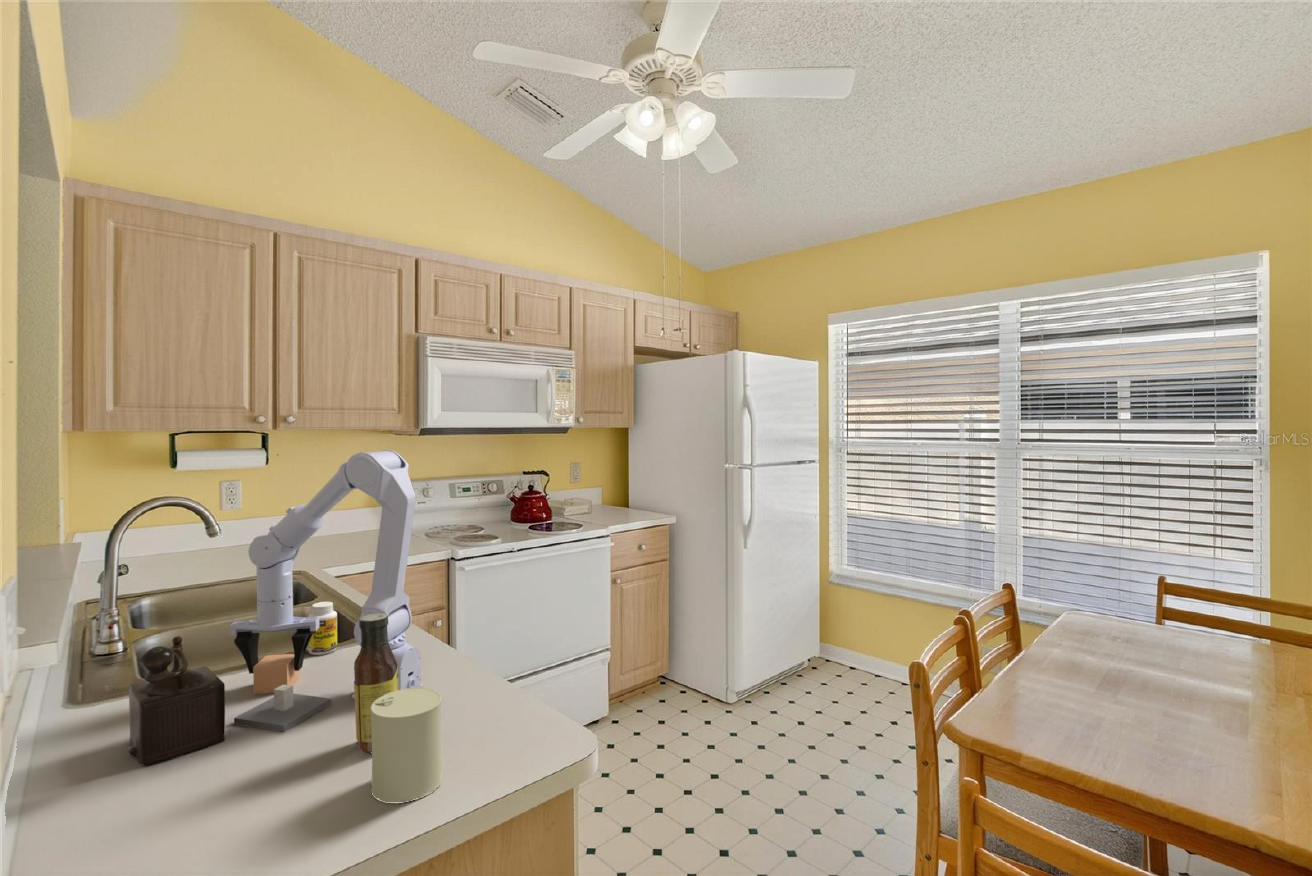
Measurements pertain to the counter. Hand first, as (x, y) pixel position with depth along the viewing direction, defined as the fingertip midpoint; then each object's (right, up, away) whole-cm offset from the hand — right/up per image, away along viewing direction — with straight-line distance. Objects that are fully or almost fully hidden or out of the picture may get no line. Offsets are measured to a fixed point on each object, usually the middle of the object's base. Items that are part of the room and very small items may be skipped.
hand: (276, 670), depth 119 cm
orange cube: (0, -3, 0) cm, 3 cm away
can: (+37, -5, -31) cm, 48 cm away
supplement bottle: (-1, -3, +18) cm, 18 cm away
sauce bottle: (+28, -4, -20) cm, 35 cm away
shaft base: (+8, -4, -11) cm, 14 cm away
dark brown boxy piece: (-2, -4, -22) cm, 22 cm away
